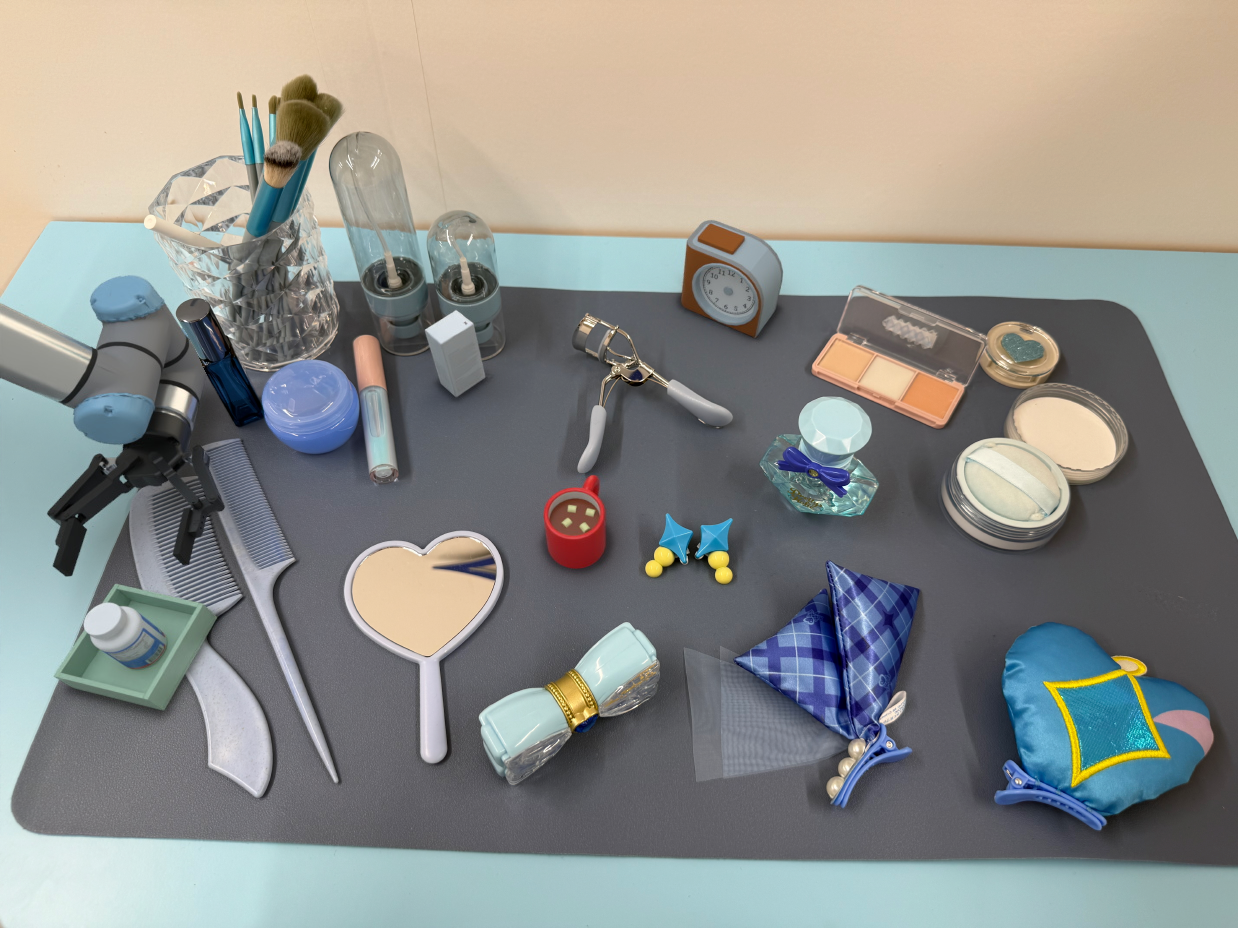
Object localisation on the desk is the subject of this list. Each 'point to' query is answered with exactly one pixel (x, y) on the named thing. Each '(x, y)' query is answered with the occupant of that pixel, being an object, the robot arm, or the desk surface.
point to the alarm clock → (731, 277)
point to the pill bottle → (125, 635)
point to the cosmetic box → (455, 353)
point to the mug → (576, 525)
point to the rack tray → (156, 682)
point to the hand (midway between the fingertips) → (121, 565)
